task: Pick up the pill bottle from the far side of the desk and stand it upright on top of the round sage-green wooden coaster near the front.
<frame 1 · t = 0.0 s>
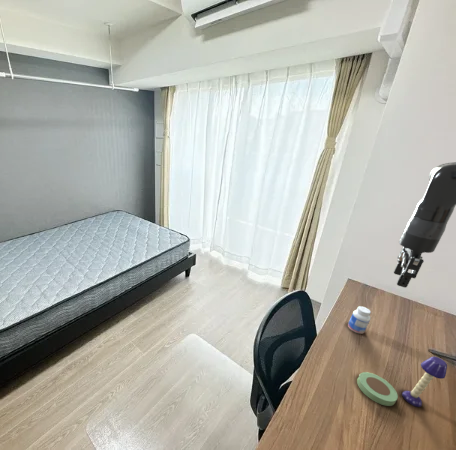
hand: (399, 279, 77), 30 cm above the table, tool pointing down, fingers open, 8 cm apart
coaster: (375, 390, 74), on the table
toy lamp: (411, 401, 72), on the table
pill bottle: (355, 329, 98), on the table
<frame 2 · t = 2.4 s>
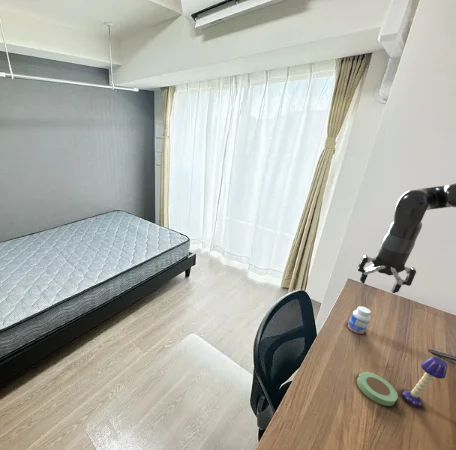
hand: (377, 287, 88), 21 cm above the table, tool pointing down, fingers open, 8 cm apart
nothing on the table moved.
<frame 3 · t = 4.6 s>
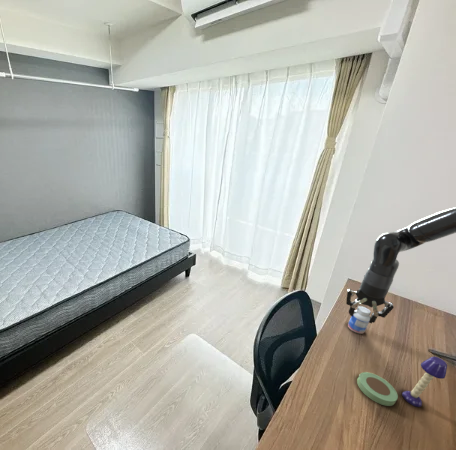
hand: (360, 318, 96), 5 cm above the table, tool pointing down, fingers closed on pill bottle, 5 cm apart
pill bottle: (355, 329, 98), on the table, touching gripper
everything else where it was.
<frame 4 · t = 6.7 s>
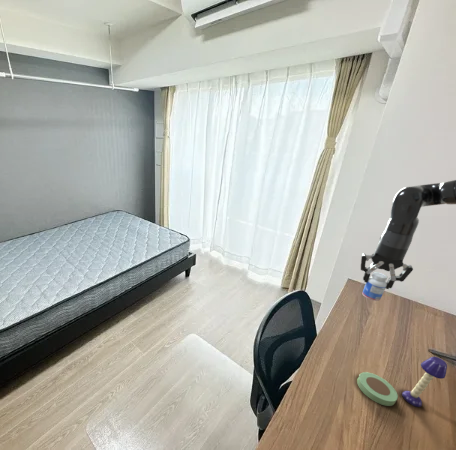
hand: (376, 284, 90), 21 cm above the table, tool pointing down, fingers closed on pill bottle, 5 cm apart
pill bottle: (370, 297, 92), point 16 cm above the table, touching gripper
everything else where it was.
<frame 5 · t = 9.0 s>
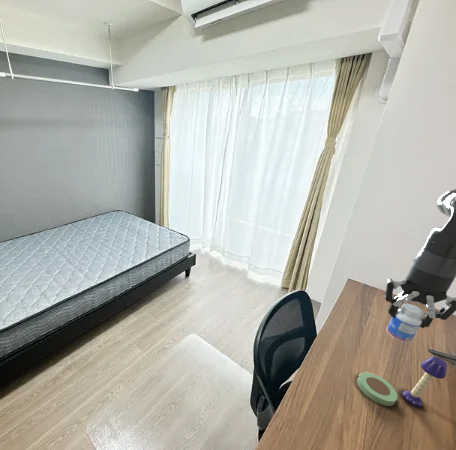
hand: (406, 320, 67), 25 cm above the table, tool pointing down, fingers closed on pill bottle, 5 cm apart
pill bottle: (397, 335, 69), point 19 cm above the table, touching gripper
everything else where it was.
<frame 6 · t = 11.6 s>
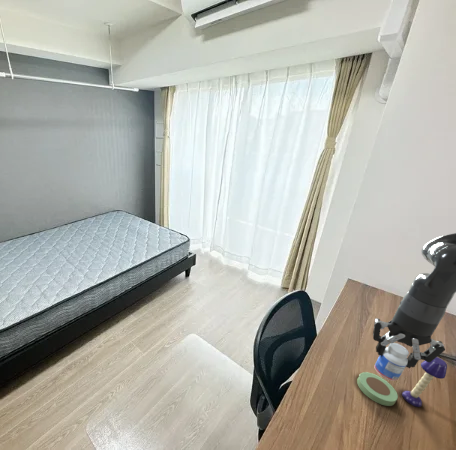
hand: (393, 359, 69), 13 cm above the table, tool pointing down, fingers closed on pill bottle, 5 cm apart
pill bottle: (385, 373, 71), point 8 cm above the table, touching gripper
everything else where it was.
when the fingers open (8 cm above the table, at t = 13.5 s): pill bottle stays where it is, resting on coaster.
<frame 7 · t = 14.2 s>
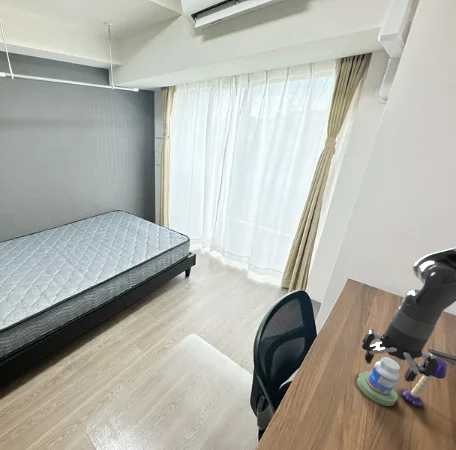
hand: (386, 370, 71), 9 cm above the table, tool pointing down, fingers open, 8 cm apart
coaster: (375, 390, 74), on the table, touching pill bottle
pill bottle: (377, 386, 73), point 2 cm above the table, touching coaster
everything else where it was.
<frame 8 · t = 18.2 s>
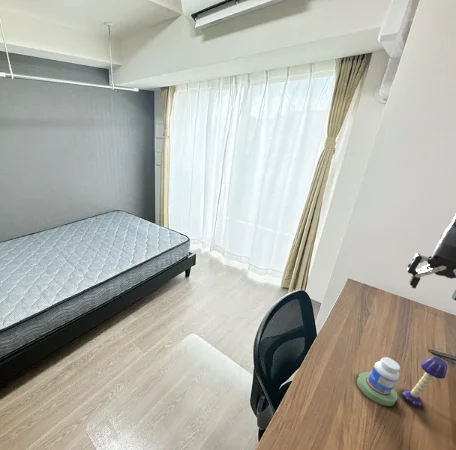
hand: (433, 292, 71), 30 cm above the table, tool pointing down, fingers open, 8 cm apart
nothing on the table moved.
at the end: pill bottle 0.1 cm off-centre on the coaster, point 1.9 cm above the coaster's base; pill bottle tilted 0°; the gripper is holding nothing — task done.
